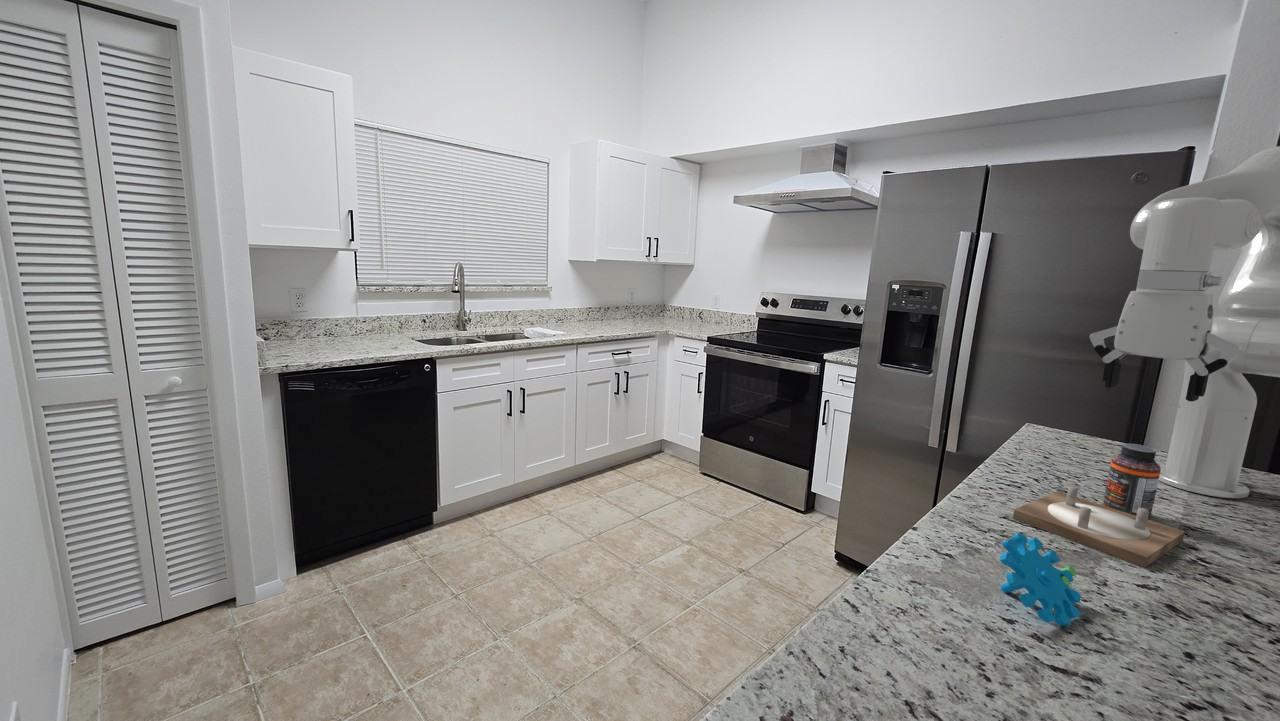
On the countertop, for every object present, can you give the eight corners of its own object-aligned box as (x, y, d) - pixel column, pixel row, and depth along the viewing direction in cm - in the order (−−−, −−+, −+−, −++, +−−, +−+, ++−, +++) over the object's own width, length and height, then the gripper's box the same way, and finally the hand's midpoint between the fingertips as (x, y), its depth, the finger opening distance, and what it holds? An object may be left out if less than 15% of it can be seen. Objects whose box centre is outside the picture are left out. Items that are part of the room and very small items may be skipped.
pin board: (1056, 499, 93) (1060, 474, 92) (1182, 540, 79) (1189, 512, 78) (1012, 518, 85) (1017, 491, 84) (1144, 567, 71) (1151, 536, 71)
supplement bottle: (1092, 504, 91) (1104, 441, 89) (1124, 504, 91) (1137, 440, 89) (1126, 521, 85) (1140, 453, 83) (1161, 521, 85) (1175, 453, 83)
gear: (1041, 626, 56) (995, 531, 62) (995, 636, 61) (955, 547, 67) (1109, 620, 60) (1059, 531, 66) (1060, 630, 65) (1018, 546, 70)
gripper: (1262, 285, 76) (1236, 403, 79) (1109, 281, 90) (1092, 380, 93) (1248, 286, 72) (1220, 409, 75) (1090, 281, 86) (1073, 384, 90)
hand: (1149, 393), depth 84 cm, fingers open, 9 cm apart
